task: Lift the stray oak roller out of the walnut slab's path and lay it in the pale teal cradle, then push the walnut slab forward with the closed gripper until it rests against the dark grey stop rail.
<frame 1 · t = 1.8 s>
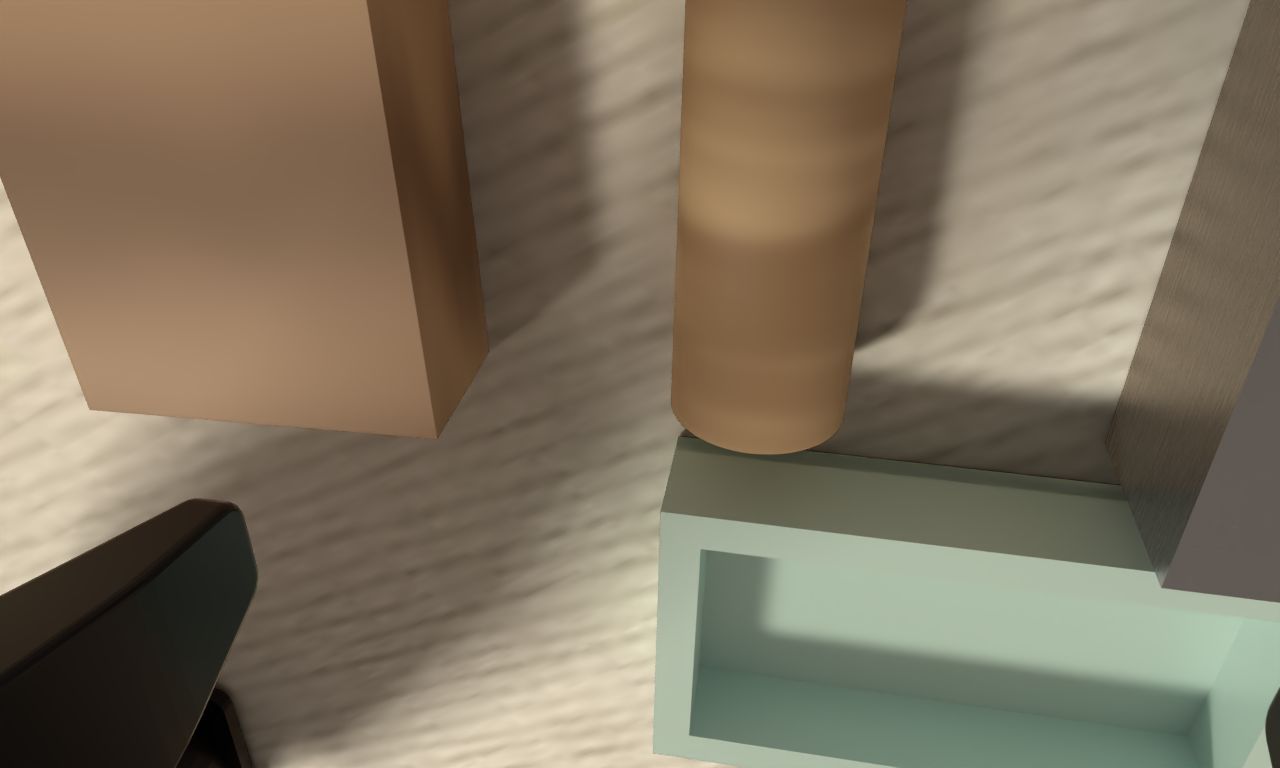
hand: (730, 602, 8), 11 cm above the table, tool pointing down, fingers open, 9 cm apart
cradle: (955, 598, 22), on the table
roller: (793, 167, 17), on the table, tilted 8°
stop rail: (1249, 204, 16), on the table
slab: (294, 128, 19), on the table
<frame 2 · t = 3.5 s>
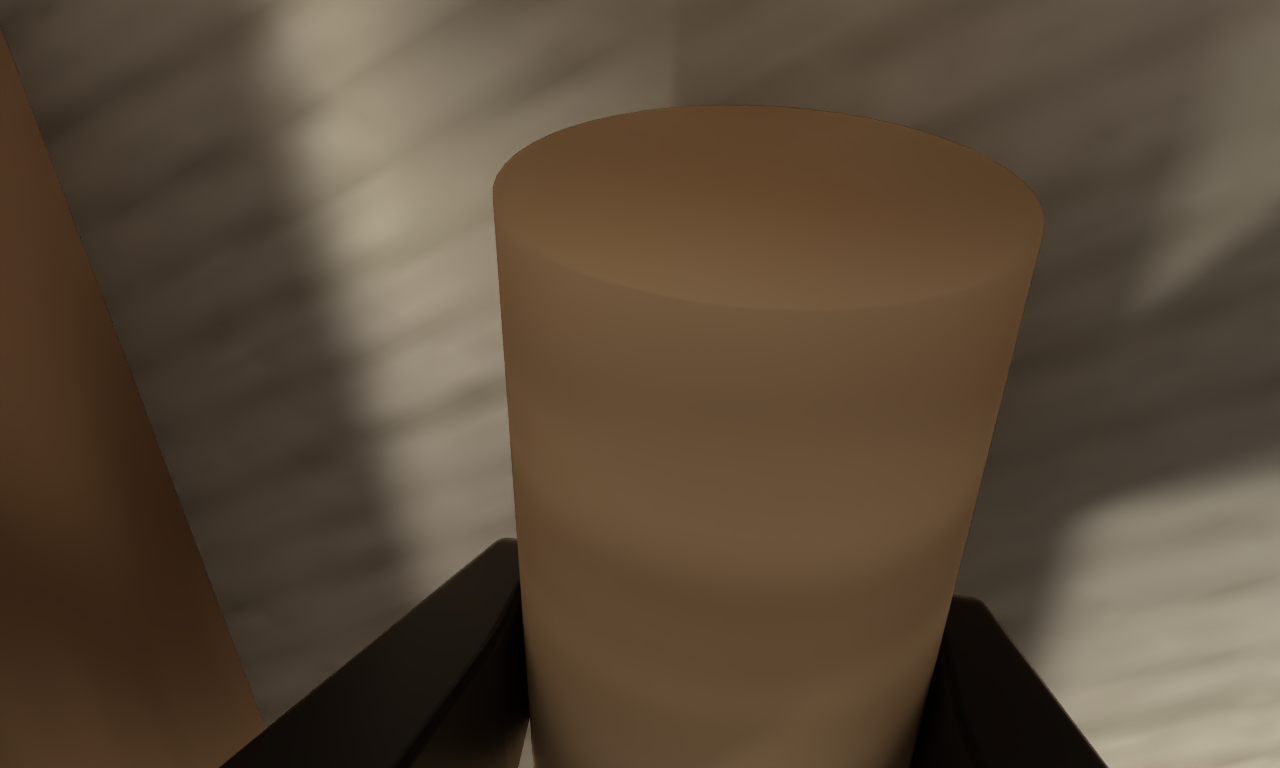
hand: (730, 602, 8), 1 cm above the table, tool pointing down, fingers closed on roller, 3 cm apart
roller: (743, 526, 9), on the table, touching gripper
when the fingers open (3 cm above the table, at t = 6.0 s): roller drops 1 cm, resting on cradle.
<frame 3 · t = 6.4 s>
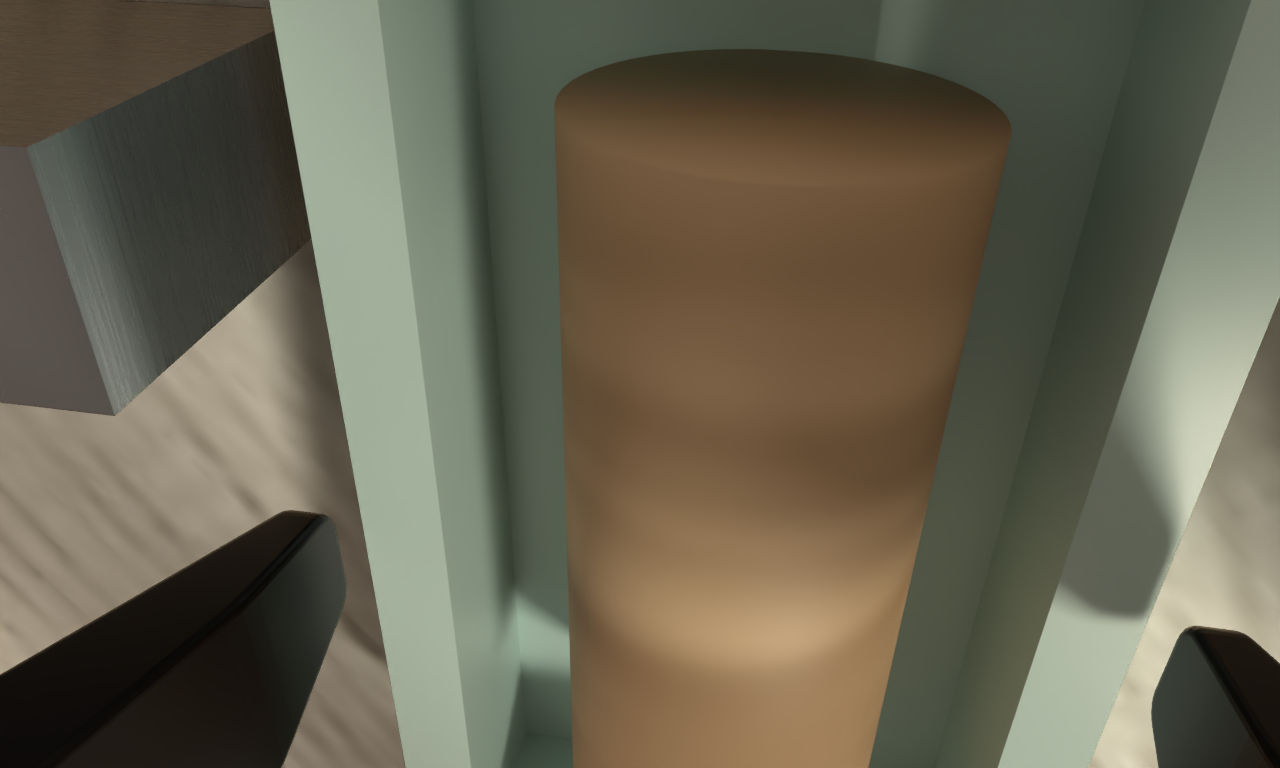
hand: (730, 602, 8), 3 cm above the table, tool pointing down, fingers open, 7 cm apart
cradle: (754, 408, 11), on the table
roller: (755, 434, 11), resting on cradle
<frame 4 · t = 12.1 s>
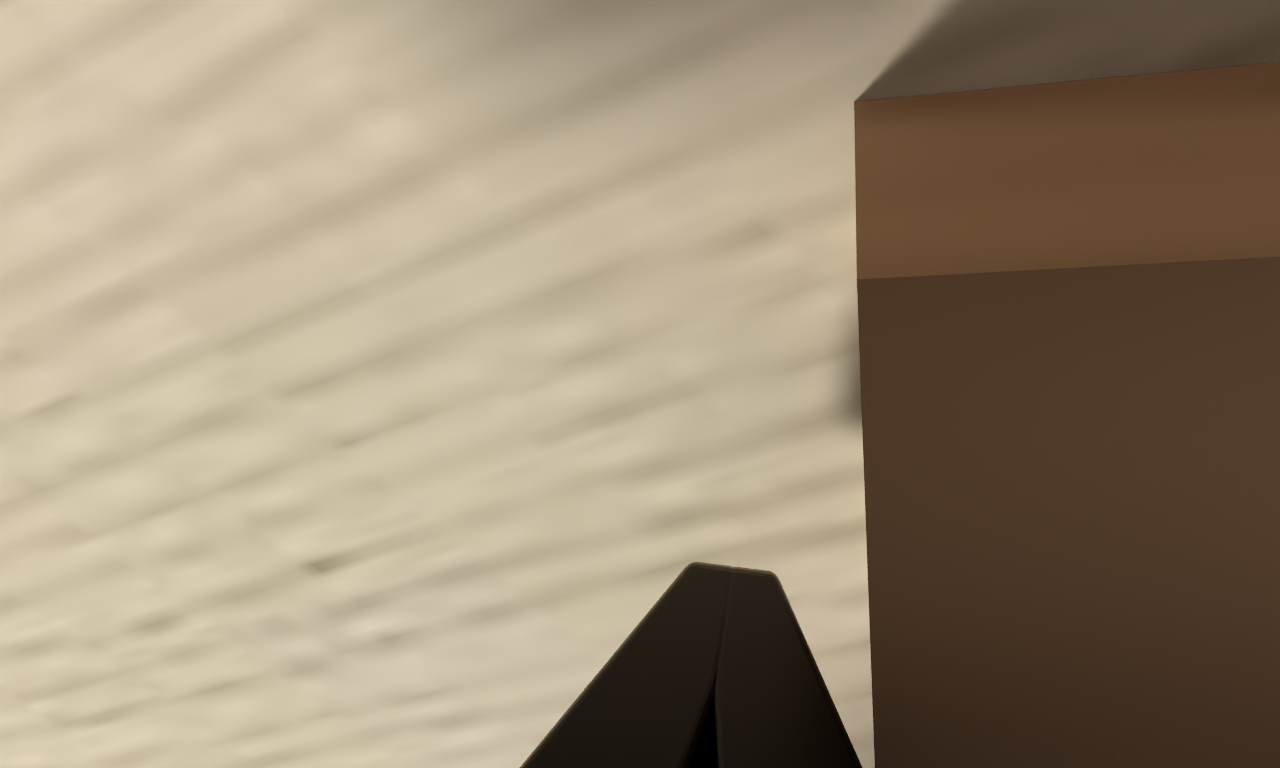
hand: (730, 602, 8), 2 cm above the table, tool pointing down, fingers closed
slab: (1243, 522, 9), on the table, touching gripper
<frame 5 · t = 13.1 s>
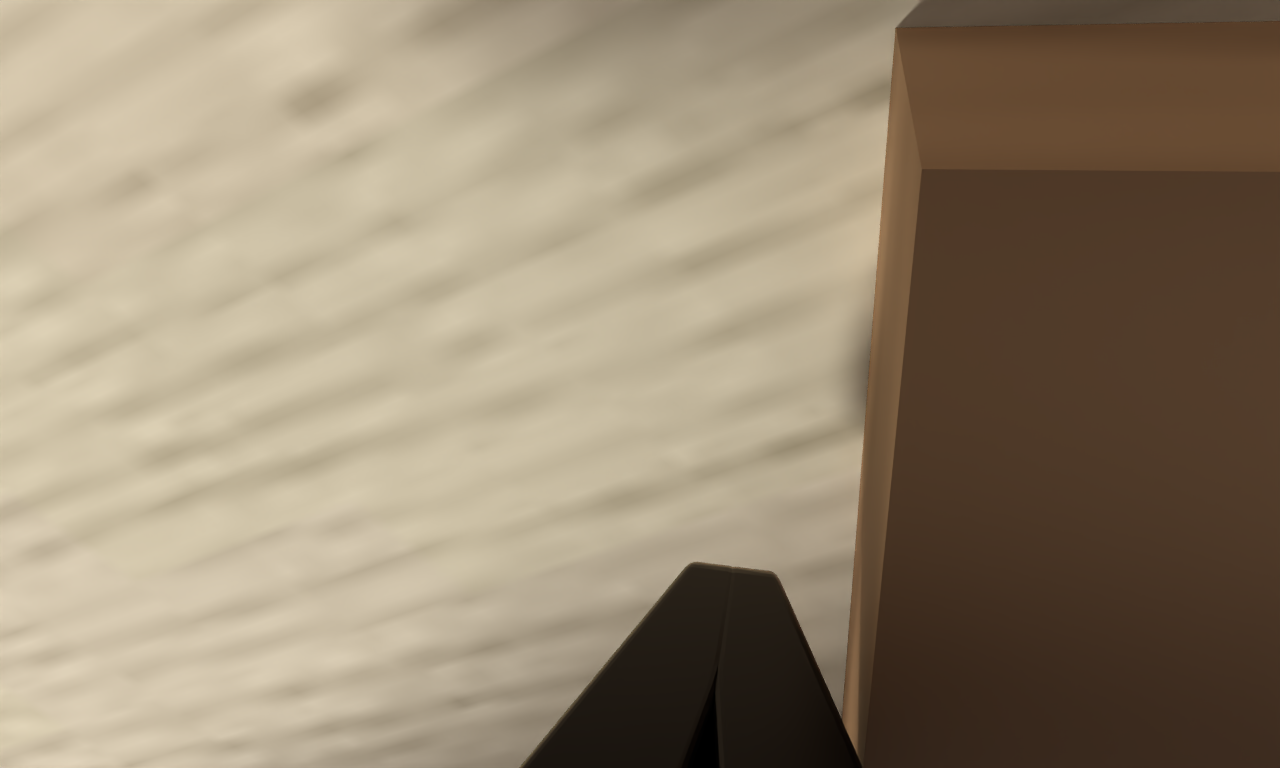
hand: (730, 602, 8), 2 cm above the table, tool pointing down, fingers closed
slab: (1233, 504, 9), on the table
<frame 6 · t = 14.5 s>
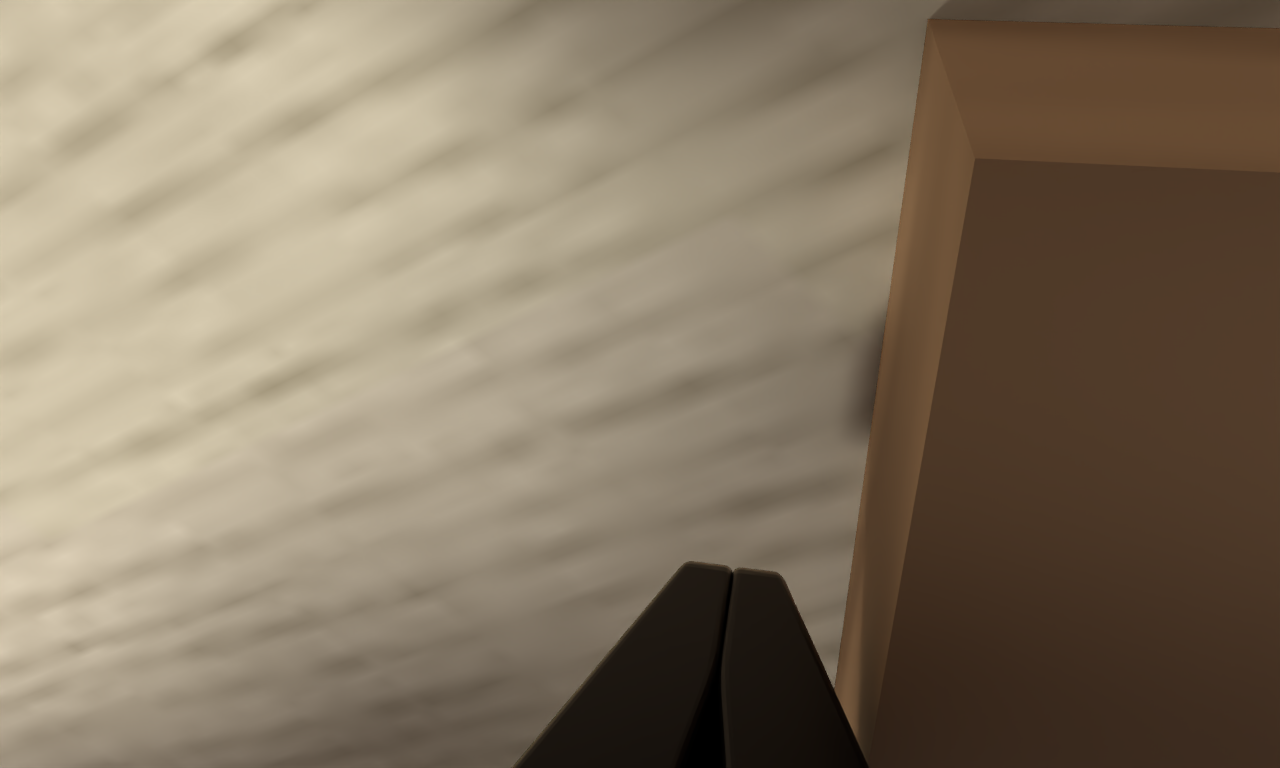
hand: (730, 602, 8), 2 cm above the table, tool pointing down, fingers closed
slab: (1231, 509, 9), on the table, touching gripper
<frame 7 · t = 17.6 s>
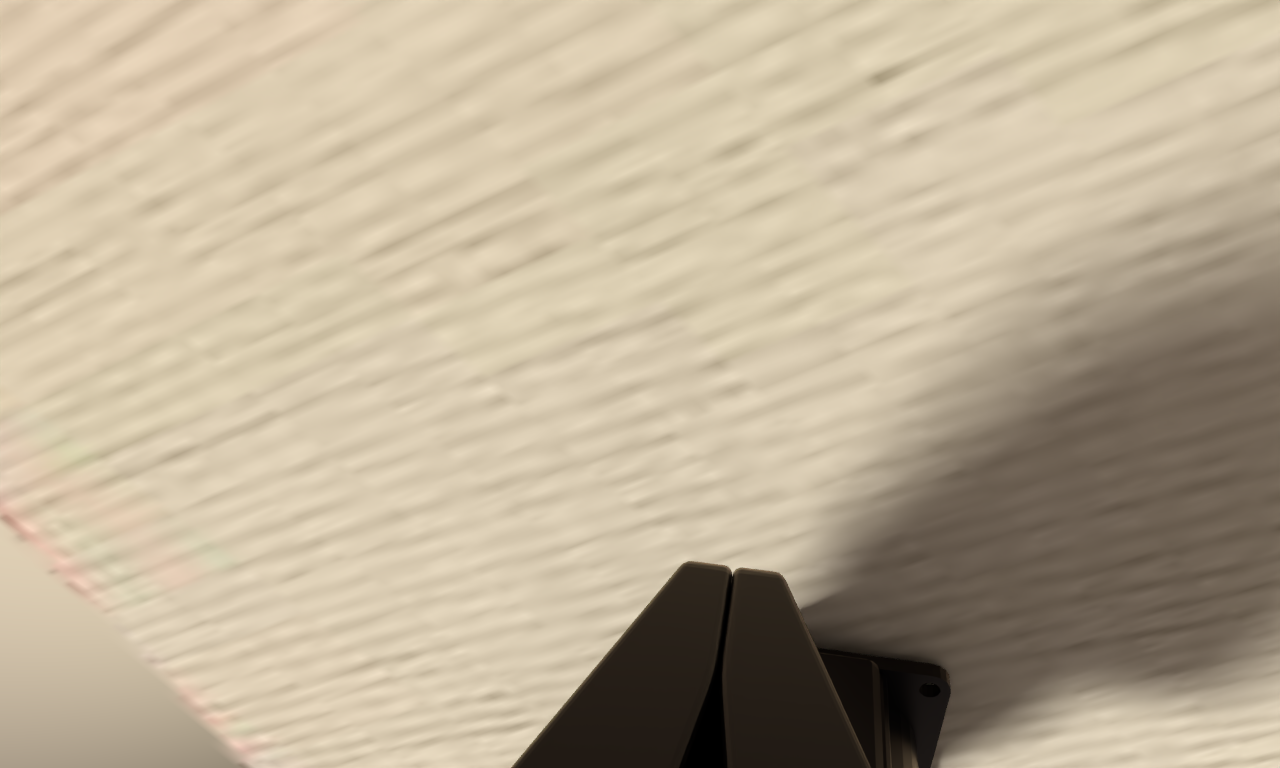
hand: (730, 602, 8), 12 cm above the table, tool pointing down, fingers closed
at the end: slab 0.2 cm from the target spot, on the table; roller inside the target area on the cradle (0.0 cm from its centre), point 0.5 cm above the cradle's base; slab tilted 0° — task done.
